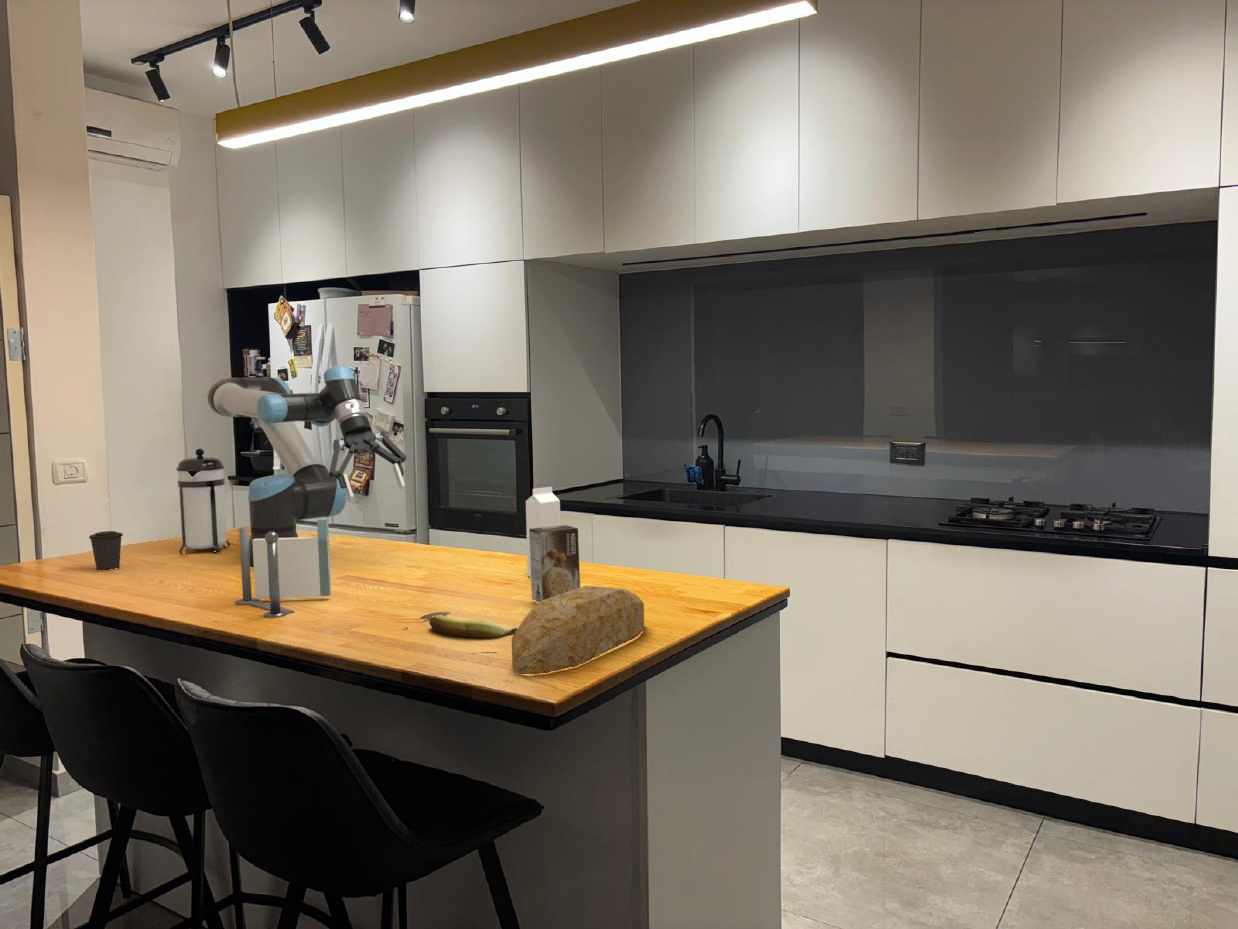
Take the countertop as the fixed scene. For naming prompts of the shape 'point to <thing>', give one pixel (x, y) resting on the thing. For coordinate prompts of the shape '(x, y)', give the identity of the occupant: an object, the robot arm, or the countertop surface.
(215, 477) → the coffee press
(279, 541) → the gate
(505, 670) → the countertop surface
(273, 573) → the post
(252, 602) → the sill
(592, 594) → the bread
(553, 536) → the coffee box
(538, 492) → the milk
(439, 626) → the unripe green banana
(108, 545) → the coffee cup
